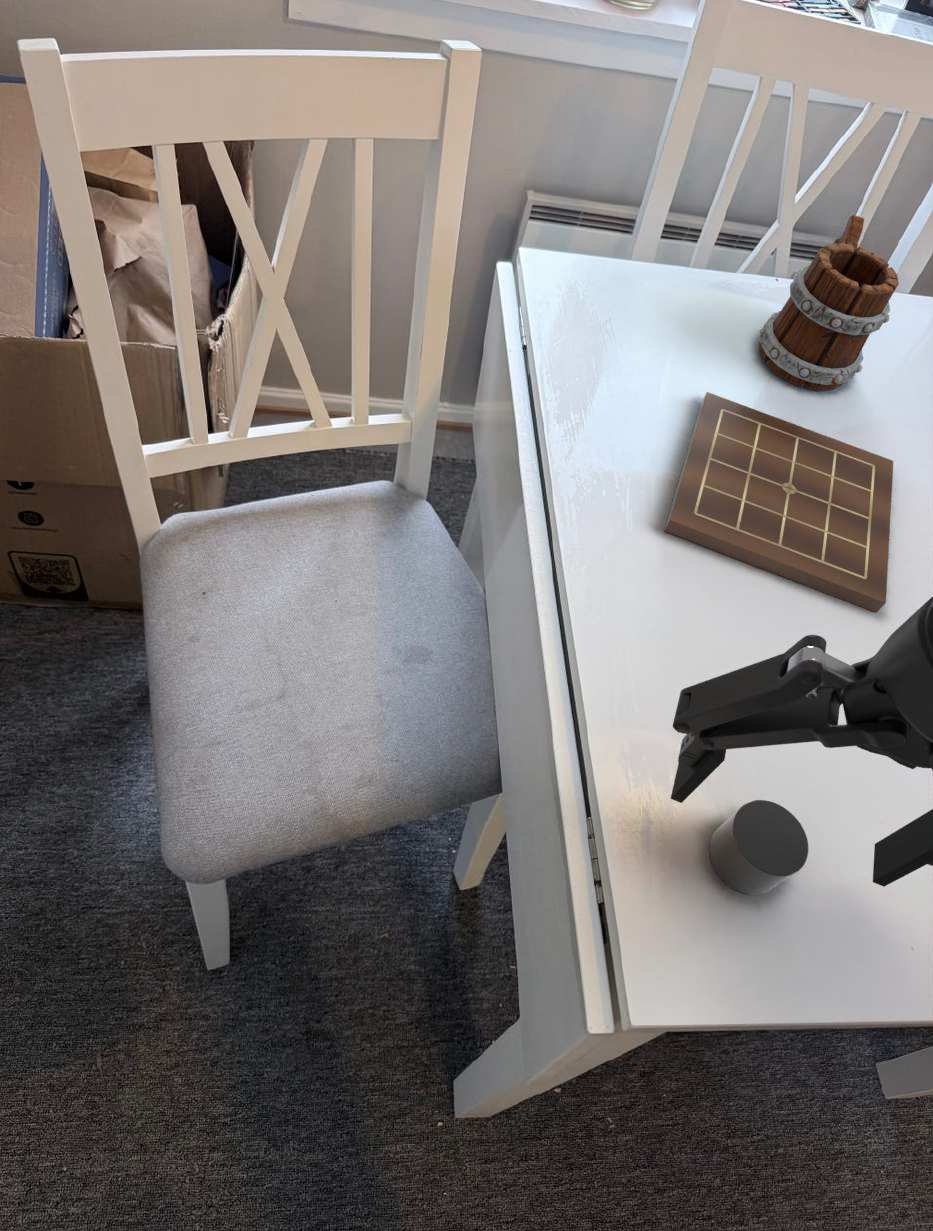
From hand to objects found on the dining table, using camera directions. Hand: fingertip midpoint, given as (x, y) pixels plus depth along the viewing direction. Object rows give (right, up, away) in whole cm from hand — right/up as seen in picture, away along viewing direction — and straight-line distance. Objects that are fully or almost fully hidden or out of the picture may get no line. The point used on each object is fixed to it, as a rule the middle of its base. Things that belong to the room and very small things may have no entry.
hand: (778, 823), depth 54 cm
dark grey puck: (-1, -3, +4) cm, 5 cm away
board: (+10, +25, +27) cm, 38 cm away
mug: (+18, +44, +42) cm, 63 cm away
